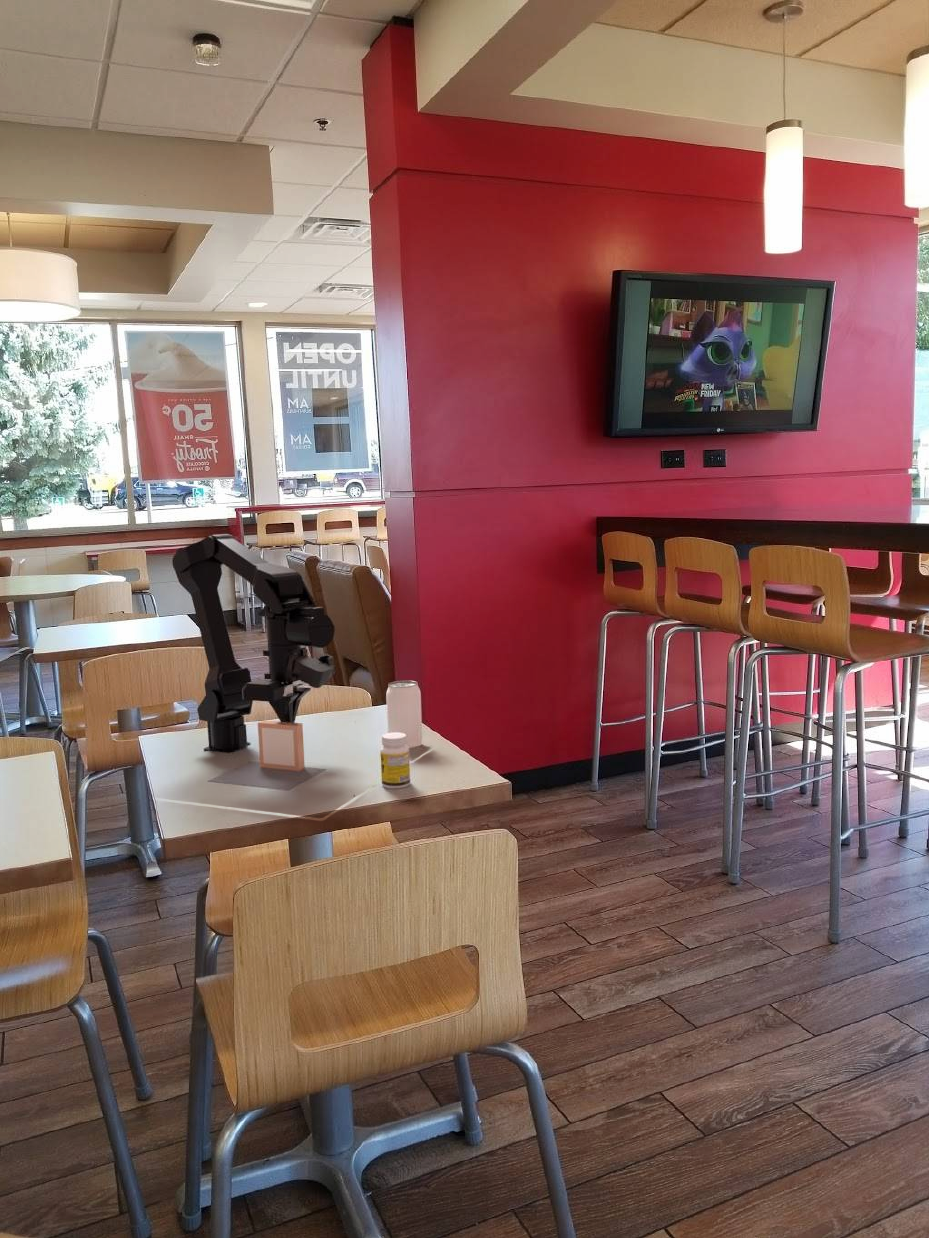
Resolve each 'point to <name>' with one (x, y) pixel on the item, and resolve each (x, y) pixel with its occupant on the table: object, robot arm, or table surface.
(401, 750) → the supplement bottle
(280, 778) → the mat
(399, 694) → the can
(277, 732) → the tile
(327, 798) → the table surface
